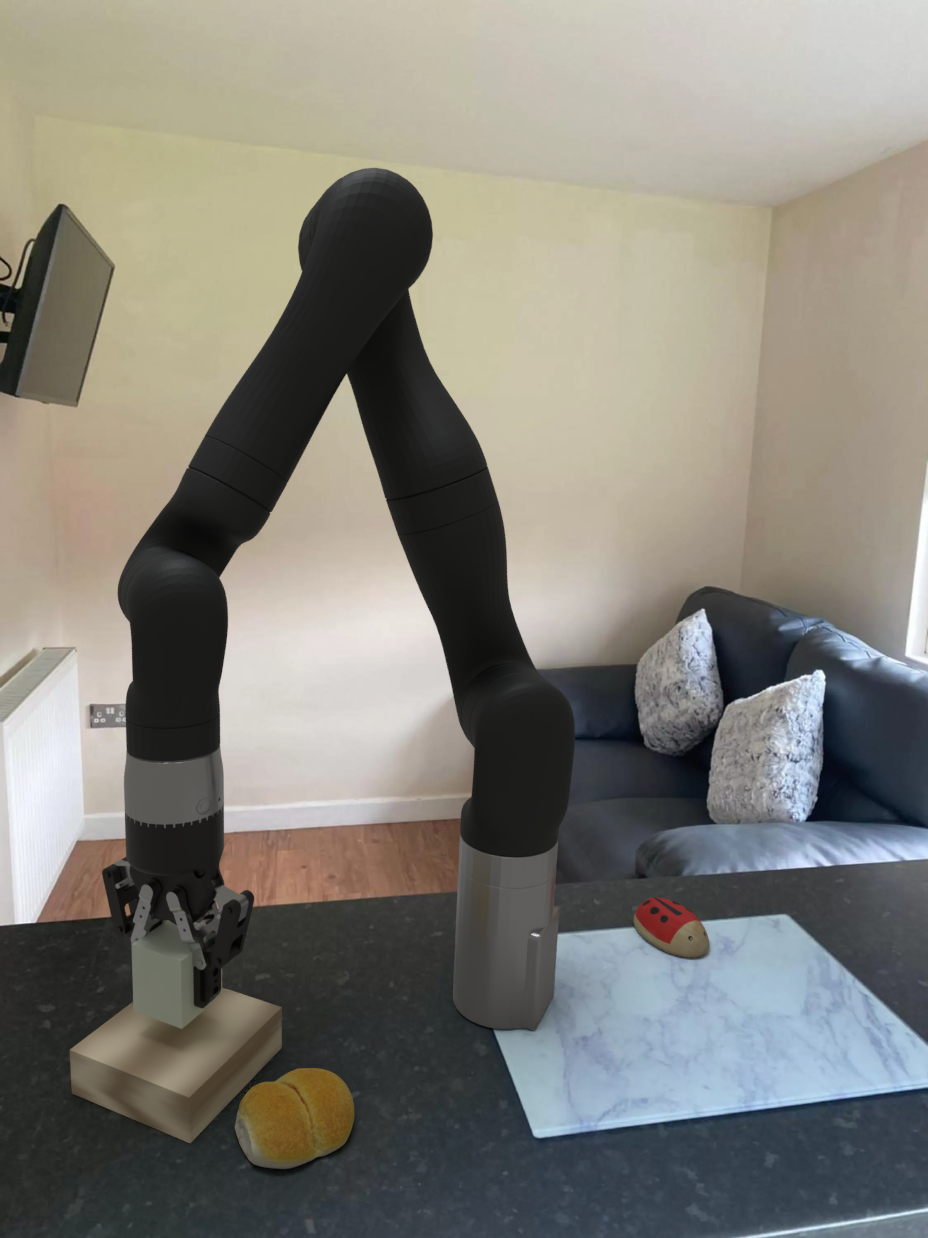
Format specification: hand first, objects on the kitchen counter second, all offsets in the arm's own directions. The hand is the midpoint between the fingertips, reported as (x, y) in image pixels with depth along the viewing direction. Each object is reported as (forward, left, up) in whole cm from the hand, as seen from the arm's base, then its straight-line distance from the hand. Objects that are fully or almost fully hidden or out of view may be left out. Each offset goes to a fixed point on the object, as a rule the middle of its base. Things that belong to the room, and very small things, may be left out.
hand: (178, 992), depth 72 cm
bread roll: (-12, +1, -8) cm, 15 cm away
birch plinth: (0, 0, -7) cm, 7 cm away
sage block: (0, 0, -1) cm, 1 cm away
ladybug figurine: (-34, -40, -8) cm, 54 cm away
